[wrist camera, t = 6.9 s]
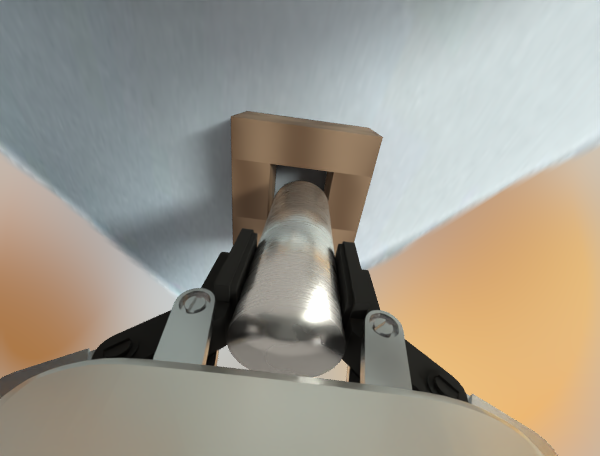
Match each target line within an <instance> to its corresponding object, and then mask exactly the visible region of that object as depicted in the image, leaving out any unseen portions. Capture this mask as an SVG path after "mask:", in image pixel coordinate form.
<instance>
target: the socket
mask: <svg viewBox="0 0 600 456" xmlns="http://www.w3.org/2000/svg"><path fill="white" fill-rule="evenodd" d="M382 138H383V137H382V136H380V135H379V134H377V133H376V132H374V131H373V130H371V129H370V128H366V127H359V126H352V125H344V124H337V123H330V122H322V121H315V120H308V119H301V118H293V117H286V116H279V115H271V114H264V113H257V112H250V111H246V112H243V113H240V114H237V115H234V116H231V156H232V221H233V245H234V243H235V241H236V239H237V237H238V235H239V233H240V231H241V229H242V228H244V229H252V230H254V233H257V246H258V243H259V240H260V238H261V235H262V232H263V229H264V226H265V223H266V221H267V218H268V215H269V212H270V209H271V206H272V203H273V201H274V194H275V180H276V167H277V165H284V166H291V167H299V168H306V169H314V170H322V171H327V175H326V180H325V186H324V191H323V192H324V194H325V195H326V197H327V200H328V206H329V214H330V222H331V230H332V238H333V246H334V254H335V255H336V251H337V247H338V244H342V242H343V241H345V242H353V243H354V240H355V237H356V233H357V229H358V226H359V222H360V218H361V215H362V211H363V207H364V204H365V200H366V196H367V193H368V189H369V185H370V182H371V178H372V175H373V171H374V167H375V164H376V160H377V156H378V153H379V149H380V145H381V142H382Z"/></svg>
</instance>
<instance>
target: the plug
mask: <svg viewBox="0 0 600 456" xmlns="http://www.w3.org/2000/svg"><path fill="white" fill-rule="evenodd" d="M226 340H227V345H228V348H229V350H230V352H231V354H232V355H233V357H234V358H235V359H236V360H237V361H238V362H239V363H241V364H242V365H243V366H245V367H246V368H248V369H249V370H253V371H262V372H270V373H279V374H287V375H296V376H304V377H316V376H319V375H322V374H324V373H326V372H327V371H329V370H331V369H333V368H334V367H335V366H336V365H337V364H338V363H339V362H340V361H341V359H342V358H343V355H344V353H345V347H346V344H345V335H344V327H343V319H342V311H341V303H340V295H339V287H338V279H337V271H336V262H335V254H334V246H333V238H332V230H331V222H330V214H329V206H328V200H327V197H326V195H325V194H324V192H323V191H322V190H321V189H320V188H319V187H318V186H316V185H315V184H313V183H310V182H306V181H294V182H290V183H288V184H286V185H284V186H283V187H282V188H281V189H280V190H279V191H278V192H277V194H276V196H275V198H274V201H273V203H272V206H271V209H270V212H269V215H268V218H267V221H266V223H265V226H264V229H263V232H262V235H261V238H260V240H259V243H258V246H257V249H256V252H255V255H254V258H253V260H252V263H251V266H250V269H249V272H248V275H247V277H246V280H245V283H244V286H243V289H242V292H241V294H240V297H239V300H238V303H237V306H236V309H235V312H234V314H233V317H232V320H231V323H230V326H229V329H228V332H227V339H226Z"/></svg>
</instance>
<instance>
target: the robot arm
mask: <svg viewBox="0 0 600 456" xmlns="http://www.w3.org/2000/svg"><path fill="white" fill-rule="evenodd" d="M256 249H257V233H254V230H252V229H244V228H242V229H241V231H240V233H239V235H238V237H237V239H236V241H235V243H234V245H233V247H232V249H231V251H230V253H228V252H221V253H220V255H219V257H218V258H217V260H216V262H215V264H214V266H213V267H212V269H211V271H210V273H209V275H208V276H207V278H206V280H205V282H204V284H203V285H202V287H201V288H194V289H190V290H187V291H185V292H184V293H182V294H181V295H180V296H178V297H177V299H176V301H175V302H174V305H173V308H172V310H171V311H168V312H166V313H164V314H161V315H159V316H157V317H155V318H152V319H150V320H148V321H146V322H143V323H141V324H139V325H137V326H134V327H132V328H130V329H127V330H125V331H123V332H121V333H118V334H116V335H114V336H112V337H110V338H109V339H107V340H106V341H104V342H103V343H102V344H101V345H100V346H99V347H98V348H97V349H96V350H93V351H90V350H89V349H85V350H82V351H79V352H76V353H73V354H69V355H66V356H63V357H60V358H57V359H54V360H51V361H47V362H44V363H41V364H38V365H35V366H32V367H29V368H26V369H23V370H19V371H16V372H14V373H11V374H9V375H6V376H4V377H2V378H1V379H0V456H558V455H557V454H556V452H555V451H554V449H553V448H552V447H551V446H550V445H549V444H548V443H547V441H546V440H545V439H543V438H542V437H540V436H539V435H538V434H537V433H535V432H534V431H532V430H530V429H529V428H527V427H526V426H524V425H522V424H521V423H519V422H518V421H516V420H514V419H513V418H511V417H509V416H508V415H506V414H504V413H503V412H501V411H500V410H498V409H496V408H495V407H493V406H491V405H490V404H488V403H487V402H485V401H483V400H482V399H480V398H478V397H477V396H475V395H474V394H472V395H471V396H469V395H467V394H466V393H465V391H464V389H463V387H462V386H461V385H460V383H459V382H458V381H457V380H456V379H455V378H454V377H453V376H452V375H450V374H449V373H448V372H446V371H445V370H444V369H443V368H441V367H440V366H439V365H437V364H436V363H435V362H433V361H432V360H431V359H430V358H428V357H427V356H426V355H425V354H423V353H422V352H421V351H419V350H418V349H417V348H416V347H414V346H413V345H412V344H410V343H409V342H408V341H407V340H405V339H404V332H403V328H402V325H401V324H400V322H399V321H398V320H397V319H396V318H395V317H394V316H393V315H391V314H389V313H387V312H385V311H381V310H380V308H379V304H378V301H377V297H376V294H375V291H374V287H373V284H372V281H371V277H370V274H369V271H368V270H362V269H361V266H360V262H359V258H358V254H357V251H356V247H355V243H353V242H345V241H343V242H342V244H338V247H337V251H336V255H335V262H336V271H337V279H338V287H339V295H340V303H341V311H342V319H343V327H344V335H345V344H346V347H345V353H344V355H343V358H342V359H343V361H344V362H345V363H346V364H347V365H348V366H347V377H346V382H345V381H337V380H328V379H321V378H313V377H304V376H296V375H287V374H279V373H270V372H262V371H253V370H244V369H236V368H227V367H218V366H217V359H218V353H219V349H221V348H223V347H224V346H226V345H227V340H226V339H227V332H228V329H229V326H230V323H231V320H232V317H233V314H234V312H235V309H236V306H237V303H238V300H239V297H240V294H241V292H242V289H243V286H244V283H245V280H246V277H247V275H248V272H249V269H250V266H251V263H252V260H253V258H254V255H255V252H256Z"/></svg>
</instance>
